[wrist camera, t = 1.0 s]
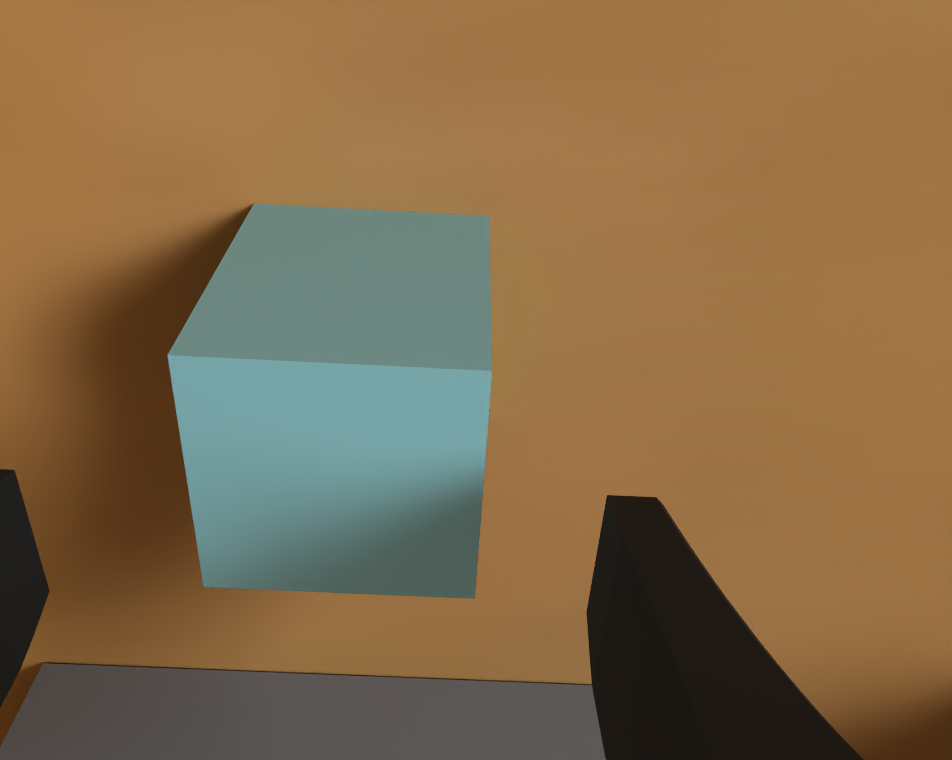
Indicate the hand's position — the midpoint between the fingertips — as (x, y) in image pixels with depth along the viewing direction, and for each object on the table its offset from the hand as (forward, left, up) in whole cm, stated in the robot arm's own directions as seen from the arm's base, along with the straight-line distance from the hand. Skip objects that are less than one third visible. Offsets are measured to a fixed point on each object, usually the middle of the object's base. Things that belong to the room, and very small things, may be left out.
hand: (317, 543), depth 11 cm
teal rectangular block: (0, 0, -6) cm, 6 cm away
